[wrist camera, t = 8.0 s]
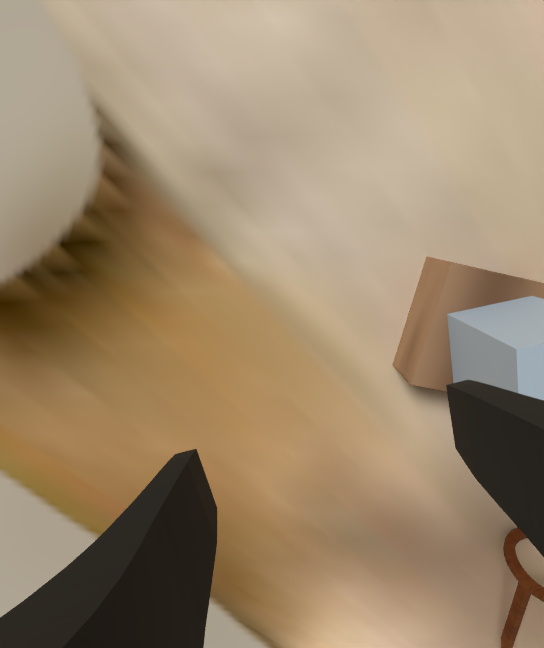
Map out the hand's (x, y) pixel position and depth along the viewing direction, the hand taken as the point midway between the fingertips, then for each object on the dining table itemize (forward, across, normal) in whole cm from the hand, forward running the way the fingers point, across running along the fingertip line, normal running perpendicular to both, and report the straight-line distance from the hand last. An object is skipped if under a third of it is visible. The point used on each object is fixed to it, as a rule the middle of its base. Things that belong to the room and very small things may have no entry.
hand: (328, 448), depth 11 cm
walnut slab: (+11, -9, +2) cm, 14 cm away
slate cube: (+8, -9, +2) cm, 12 cm away
